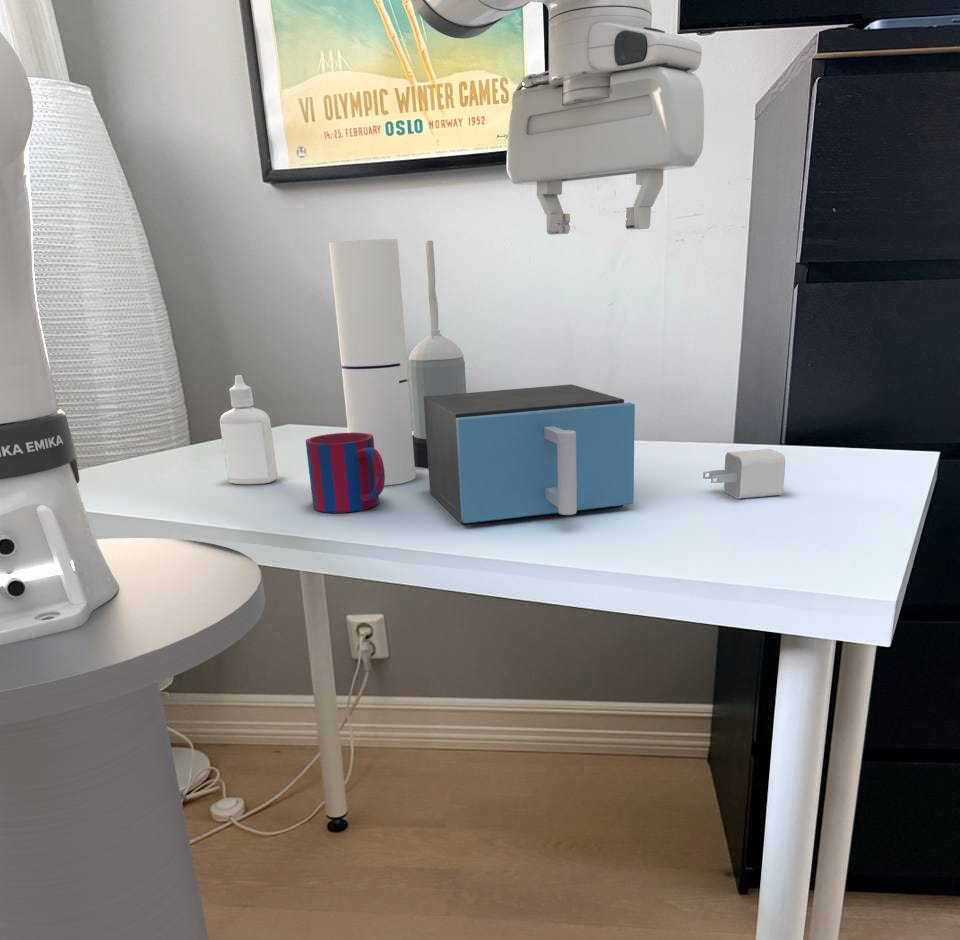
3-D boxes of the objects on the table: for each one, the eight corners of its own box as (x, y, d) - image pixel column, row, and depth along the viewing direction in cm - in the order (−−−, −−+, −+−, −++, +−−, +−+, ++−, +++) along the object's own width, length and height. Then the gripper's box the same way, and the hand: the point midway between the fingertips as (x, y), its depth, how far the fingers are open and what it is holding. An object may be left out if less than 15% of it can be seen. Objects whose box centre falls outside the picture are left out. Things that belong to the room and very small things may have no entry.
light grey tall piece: (480, 453, 118) (470, 239, 108) (470, 466, 110) (457, 237, 101) (417, 455, 119) (402, 243, 110) (403, 468, 111) (385, 242, 102)
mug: (360, 494, 99) (353, 430, 96) (407, 510, 91) (402, 440, 89) (302, 505, 96) (294, 438, 93) (347, 522, 88) (339, 450, 85)
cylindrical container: (340, 480, 106) (315, 244, 97) (390, 469, 111) (370, 242, 101) (377, 488, 101) (354, 240, 92) (428, 477, 106) (411, 238, 96)
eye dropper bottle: (252, 487, 105) (236, 378, 100) (223, 482, 108) (207, 376, 104) (283, 480, 108) (269, 374, 103) (254, 475, 111) (239, 372, 107)
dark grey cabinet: (623, 506, 89) (624, 399, 85) (461, 524, 85) (455, 414, 82) (572, 478, 101) (571, 384, 98) (430, 493, 98) (423, 396, 94)
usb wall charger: (782, 496, 89) (785, 454, 88) (714, 502, 88) (716, 460, 87) (764, 487, 93) (767, 447, 91) (698, 493, 92) (700, 453, 91)
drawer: (658, 517, 82) (660, 411, 79) (479, 538, 78) (473, 428, 75) (581, 476, 99) (581, 388, 96) (432, 492, 96) (426, 401, 92)
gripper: (489, 74, 86) (493, 236, 91) (674, 31, 72) (666, 225, 77) (535, 81, 90) (536, 236, 95) (719, 42, 76) (708, 226, 81)
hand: (596, 231), depth 86 cm, fingers open, 8 cm apart
